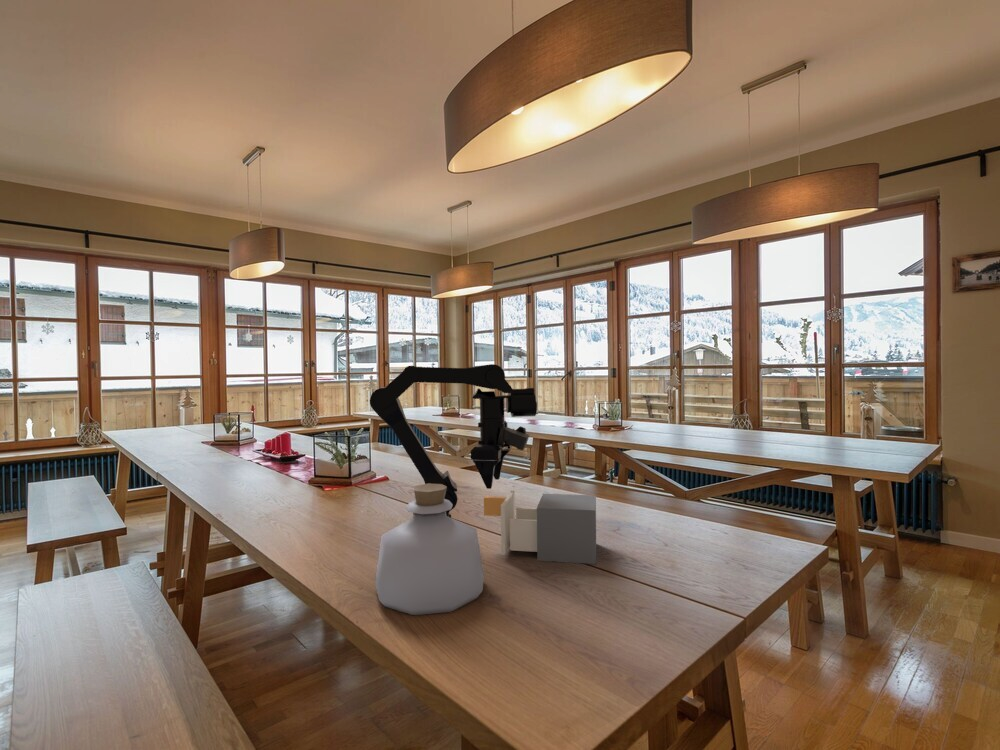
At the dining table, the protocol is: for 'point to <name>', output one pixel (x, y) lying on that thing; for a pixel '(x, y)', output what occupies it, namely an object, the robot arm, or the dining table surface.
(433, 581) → the bottle
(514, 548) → the white drawer unit
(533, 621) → the dining table surface
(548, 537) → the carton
